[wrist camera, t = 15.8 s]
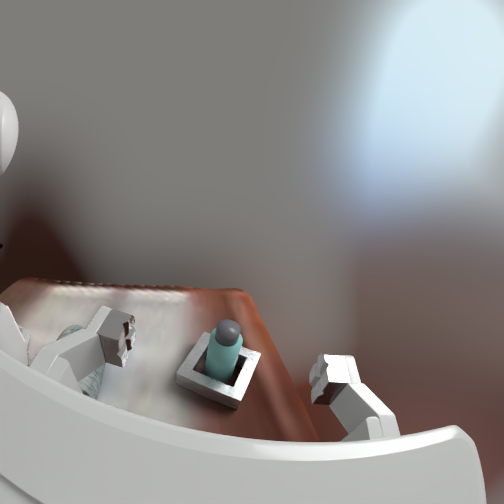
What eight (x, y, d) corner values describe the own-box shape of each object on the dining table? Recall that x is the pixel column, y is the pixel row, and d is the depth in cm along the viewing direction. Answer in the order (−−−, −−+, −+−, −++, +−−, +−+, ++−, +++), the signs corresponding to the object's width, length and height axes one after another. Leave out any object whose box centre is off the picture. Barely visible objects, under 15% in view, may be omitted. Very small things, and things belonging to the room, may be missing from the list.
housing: (175, 383, 37) (176, 372, 36) (202, 342, 46) (204, 331, 44) (237, 409, 35) (240, 400, 34) (256, 364, 44) (260, 353, 43)
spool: (105, 427, 24) (58, 366, 21) (57, 426, 24) (15, 371, 21) (130, 364, 37) (100, 311, 35) (87, 371, 37) (58, 323, 34)
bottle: (199, 378, 39) (206, 332, 34) (210, 359, 43) (219, 312, 38) (225, 389, 38) (239, 345, 33) (235, 369, 42) (249, 323, 37)
